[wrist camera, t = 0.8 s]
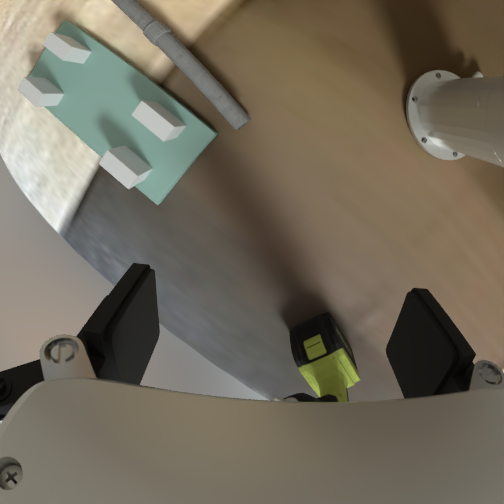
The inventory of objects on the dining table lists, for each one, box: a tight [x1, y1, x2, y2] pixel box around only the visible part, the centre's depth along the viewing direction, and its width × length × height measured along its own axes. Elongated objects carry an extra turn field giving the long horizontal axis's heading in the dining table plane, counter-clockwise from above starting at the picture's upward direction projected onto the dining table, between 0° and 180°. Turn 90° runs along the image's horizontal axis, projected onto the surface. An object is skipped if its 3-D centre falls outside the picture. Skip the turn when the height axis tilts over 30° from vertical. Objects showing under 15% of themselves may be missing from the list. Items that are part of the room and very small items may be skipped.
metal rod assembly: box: [111, 0, 251, 130], centre depth 30 cm, size 26×3×5 cm, turn 39°
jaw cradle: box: [18, 20, 218, 205], centre depth 32 cm, size 12×30×6 cm, turn 48°
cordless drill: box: [274, 313, 360, 402], centre depth 37 cm, size 23×7×25 cm, turn 33°
